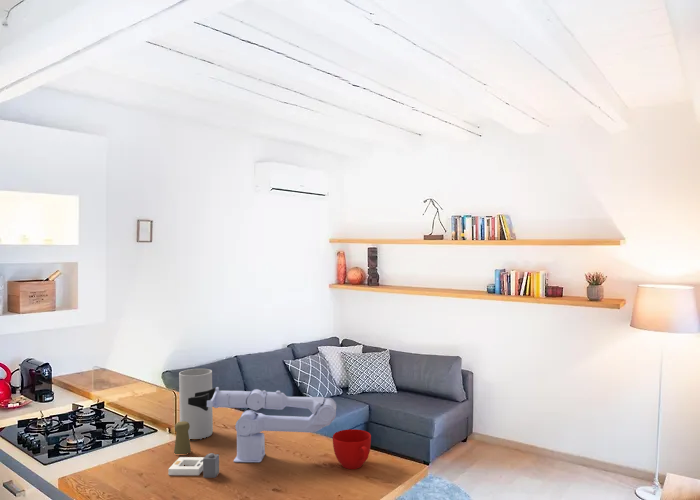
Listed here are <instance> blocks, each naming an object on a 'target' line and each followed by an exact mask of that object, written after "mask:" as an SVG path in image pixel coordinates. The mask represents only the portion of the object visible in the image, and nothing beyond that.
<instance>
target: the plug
mask: <svg viewBox="0 0 700 500" xmlns="http://www.w3.org/2000/svg"><path fill="white" fill-rule="evenodd" d="M203 457H204V458H203V471H202V475H203V477H202V478H203V479H204V478H206V479H207V478H209V479H210V478H212V479H214V478H217V477H218V475H219V474H220V455H219V454H217V453H216V454H215V453H213V452H212V453H211V452H210V453H207V454H206V455H205V456H203Z"/></svg>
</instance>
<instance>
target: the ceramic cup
mask: <svg viewBox="0 0 700 500" xmlns="http://www.w3.org/2000/svg"><path fill="white" fill-rule="evenodd" d="M371 444H372V435H371V433H370V432H368V431H366V430H362V429H357V428H354V429H350V428H349V429H342V430H339V431H336V432H335V433H333V434H332V447H333V451H334V455H335V458H336V460H337V461H338V463H340V464H341V466H342V468H344V469H348V470H356V469H360V468H361V467H362V466H363V465H364V464H365V462H367V461H368V458H369V455H370V452H371Z"/></svg>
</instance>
